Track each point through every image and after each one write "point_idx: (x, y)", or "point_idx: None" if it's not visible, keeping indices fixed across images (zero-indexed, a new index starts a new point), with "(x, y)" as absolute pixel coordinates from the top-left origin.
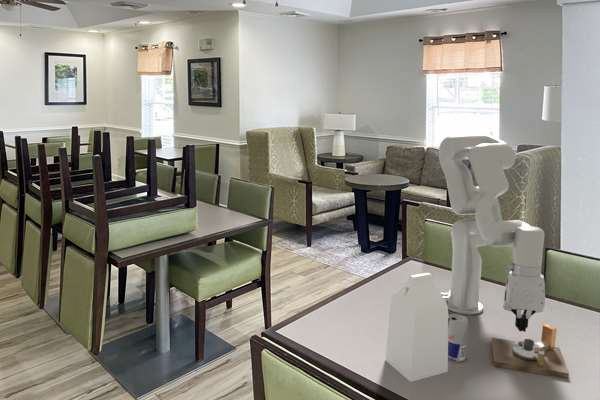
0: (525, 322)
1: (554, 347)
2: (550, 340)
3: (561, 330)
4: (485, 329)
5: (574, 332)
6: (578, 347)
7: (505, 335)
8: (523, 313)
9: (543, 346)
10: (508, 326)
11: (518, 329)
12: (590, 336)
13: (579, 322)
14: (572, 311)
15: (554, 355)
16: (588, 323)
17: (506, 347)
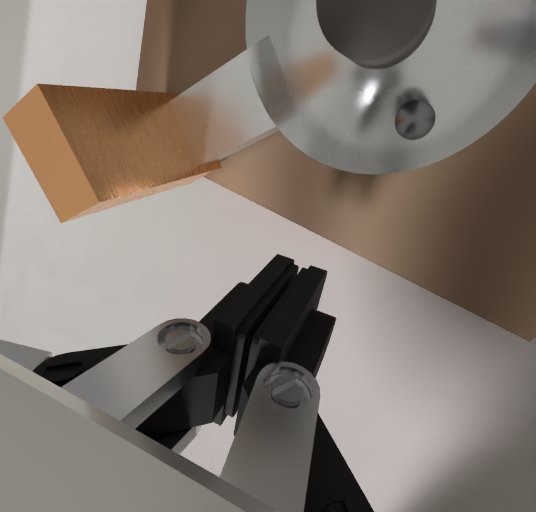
0: (246, 299)
1: None
2: (142, 95)
3: (86, 324)
4: (432, 451)
5: (50, 299)
6: None
7: (349, 363)
8: (199, 421)
9: (225, 64)
10: None
11: (318, 303)
12: (10, 259)
13: None
14: None
15: (190, 21)
16: (5, 338)
17: (518, 169)
